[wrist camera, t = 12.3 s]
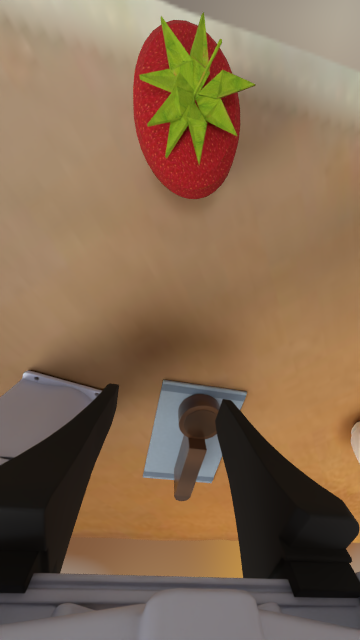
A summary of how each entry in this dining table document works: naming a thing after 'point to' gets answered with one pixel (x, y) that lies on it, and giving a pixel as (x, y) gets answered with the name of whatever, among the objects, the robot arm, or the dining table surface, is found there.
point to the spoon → (193, 440)
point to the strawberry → (186, 108)
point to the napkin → (170, 436)
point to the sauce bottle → (356, 440)
